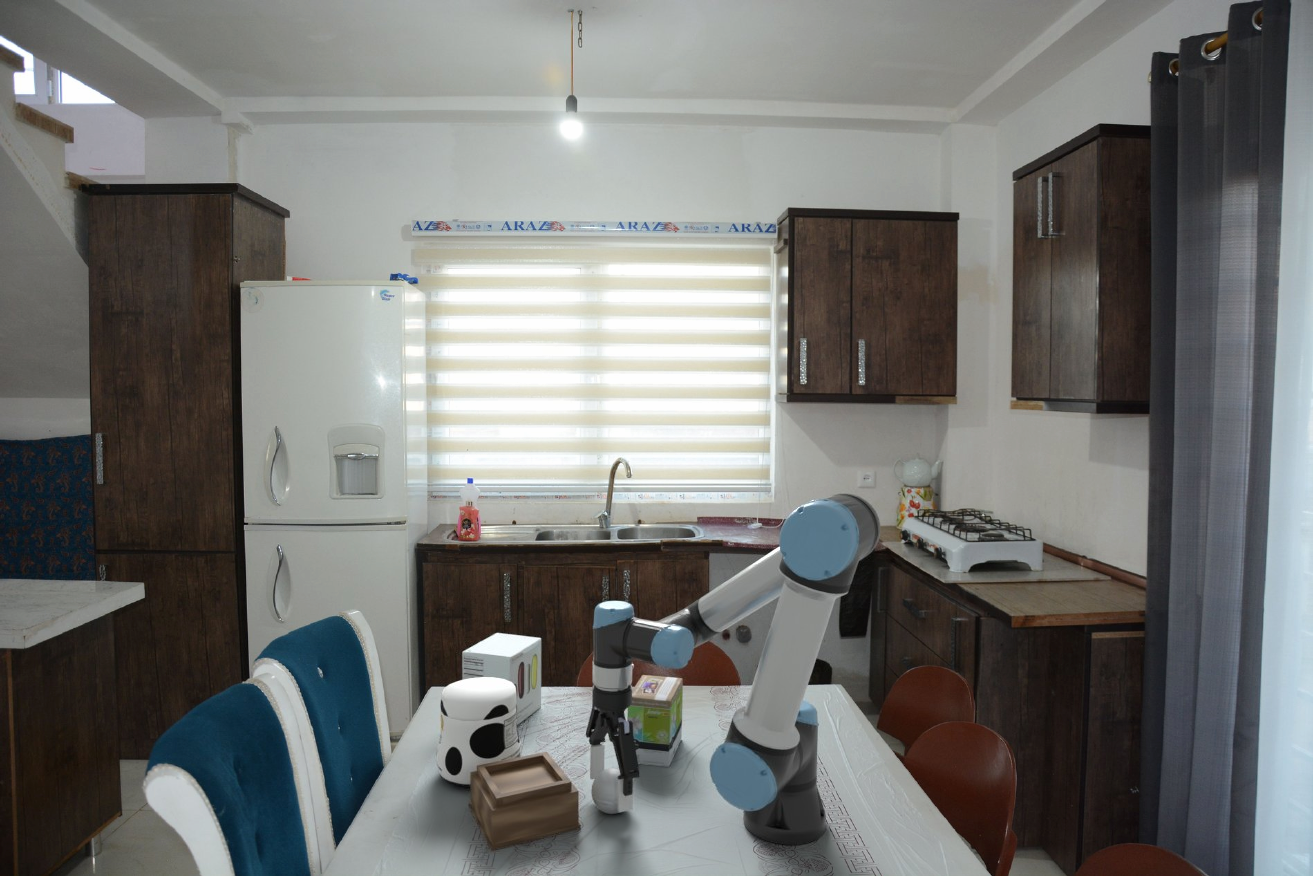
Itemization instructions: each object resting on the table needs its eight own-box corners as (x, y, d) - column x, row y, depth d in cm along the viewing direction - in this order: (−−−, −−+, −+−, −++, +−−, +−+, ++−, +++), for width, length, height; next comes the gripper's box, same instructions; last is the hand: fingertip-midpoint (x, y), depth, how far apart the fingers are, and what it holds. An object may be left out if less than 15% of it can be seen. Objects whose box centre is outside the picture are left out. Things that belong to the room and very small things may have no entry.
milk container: (432, 763, 175) (432, 680, 174) (513, 751, 181) (512, 671, 180) (441, 800, 159) (440, 710, 158) (529, 786, 165) (528, 699, 164)
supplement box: (510, 733, 190) (510, 657, 189) (461, 726, 194) (460, 651, 193) (543, 706, 207) (543, 636, 206) (496, 700, 211) (496, 631, 210)
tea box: (671, 768, 173) (671, 700, 172) (625, 763, 175) (625, 696, 174) (682, 739, 188) (683, 676, 187) (640, 735, 190) (640, 673, 189)
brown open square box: (580, 828, 149) (580, 783, 148) (491, 851, 141) (491, 803, 141) (550, 789, 163) (550, 747, 163) (468, 807, 156) (468, 764, 156)
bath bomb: (641, 811, 155) (642, 770, 154) (609, 827, 149) (609, 784, 149) (614, 796, 161) (614, 757, 160) (582, 810, 155) (582, 769, 155)
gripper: (659, 704, 144) (657, 820, 145) (605, 661, 166) (603, 761, 168) (621, 711, 141) (618, 830, 142) (570, 666, 163) (569, 768, 164)
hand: (610, 793), depth 155 cm, fingers open, 13 cm apart
